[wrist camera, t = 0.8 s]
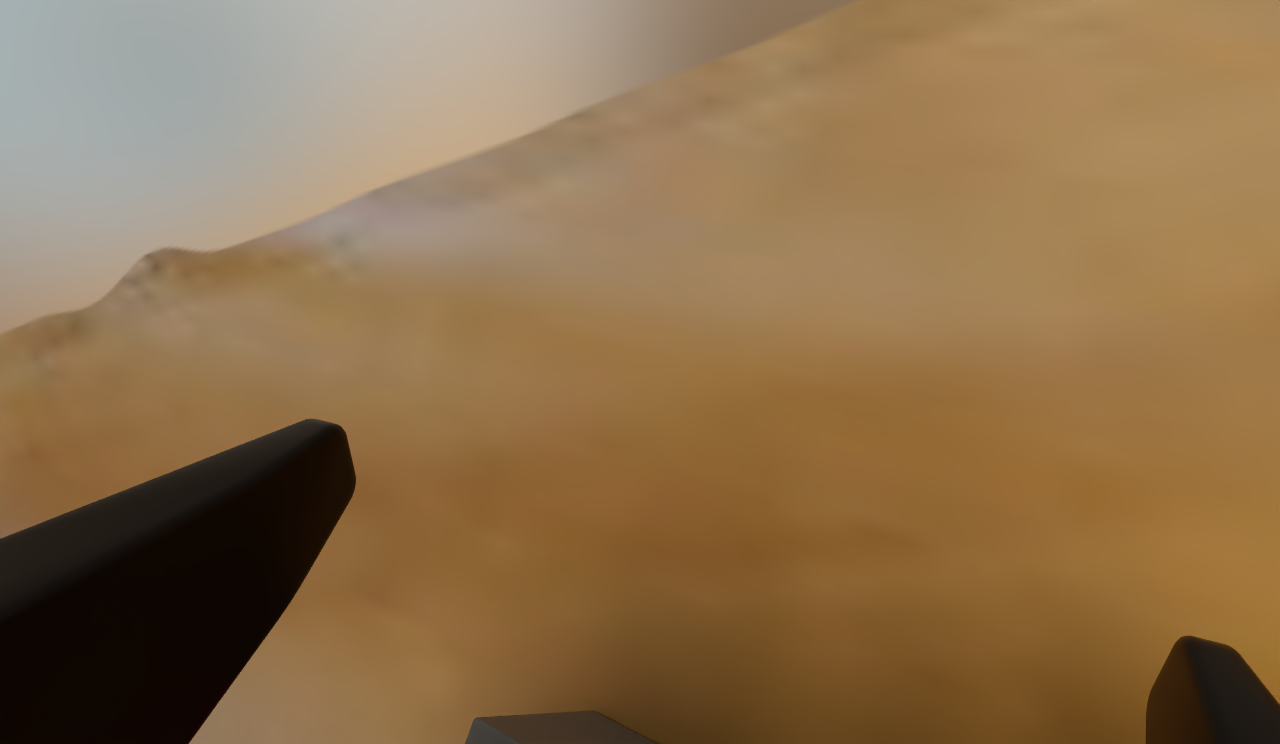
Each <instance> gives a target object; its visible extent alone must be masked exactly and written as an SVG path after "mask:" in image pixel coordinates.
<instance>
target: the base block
mask: <svg viewBox="0 0 1280 744" xmlns="http://www.w3.org/2000/svg"><path fill="white" fill-rule="evenodd" d="M465 744H656V743H654V742H653V741H651V740H649V739H647V738H645V737H643V736H641V735H639V734H637V733H635V732H633V731H631V730H630V729H628V728H626V727H624V726H622V725H620V724H618V723H616V722H614V721H612V720H610V719H608V718H607V717H605V716H603V715H601V714H599V713H597V712H595V711H580V712H563V713H546V714H530V715H513V716H496V717H479V718H475V719H474V721H473V723H472V726H471V729H470V732H469V735H468V737H467V740H466V743H465Z"/></svg>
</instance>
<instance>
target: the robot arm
mask: <svg viewBox="0 0 1280 744" xmlns="http://www.w3.org/2000/svg"><path fill="white" fill-rule="evenodd" d="M355 485H356V475H355V470H354V466H353V462H352V457H351V453H350V448H349V444H348V439H347V435H346V432H345V431H344V430H343V428H342V427H341V426H339V425H337V424H334V423H330V422H326V421H322V420H318V419H306V420H303V421H301V422H298V423H296V424H293V425H290V426H288V427H285V428H283V429H280V430H278V431H275V432H273V433H270V434H267V435H265V436H262V437H260V438H257V439H255V440H252V441H249V442H247V443H244V444H242V445H239V446H237V447H234V448H232V449H229V450H226V451H224V452H221V453H219V454H216V455H214V456H211V457H209V458H206V459H203V460H201V461H198V462H196V463H193V464H191V465H188V466H185V467H183V468H180V469H178V470H175V471H173V472H170V473H168V474H165V475H162V476H160V477H157V478H155V479H152V480H150V481H147V482H145V483H142V484H139V485H137V486H134V487H132V488H129V489H127V490H124V491H121V492H119V493H116V494H114V495H111V496H109V497H106V498H104V499H101V500H98V501H96V502H93V503H91V504H88V505H86V506H83V507H81V508H78V509H75V510H73V511H70V512H68V513H65V514H63V515H60V516H58V517H55V518H52V519H50V520H47V521H45V522H42V523H40V524H37V525H34V526H32V527H29V528H27V529H24V530H22V531H19V532H17V533H14V534H11V535H9V536H6V537H4V538H1V539H0V744H189V743H190V741H191V740H192V738H193V737H194V736H195V734H196V733H197V731H198V730H199V729H200V727H201V726H202V725H203V723H204V722H205V720H206V719H207V718H208V716H209V715H210V714H211V712H212V711H213V709H214V708H215V707H216V705H217V704H218V702H219V701H220V700H221V698H222V697H223V696H224V694H225V693H226V691H227V690H228V689H229V687H230V686H231V684H232V683H233V682H234V680H235V679H236V678H237V676H238V675H239V673H240V672H241V671H242V669H243V668H244V666H245V665H246V664H247V662H248V661H249V660H250V658H251V657H252V655H253V654H254V653H255V651H256V650H257V649H258V647H259V646H260V644H261V643H262V642H263V640H264V639H265V637H266V636H267V635H268V633H269V632H270V631H271V629H272V628H273V626H274V625H275V624H276V622H277V621H278V619H279V618H280V617H281V615H282V614H283V612H284V611H285V609H286V608H287V606H288V605H289V603H290V602H291V600H292V599H293V597H294V596H295V594H296V592H297V591H298V589H299V588H300V586H301V584H302V583H303V581H304V579H305V577H306V576H307V574H308V572H309V571H310V569H311V567H312V565H313V564H314V562H315V560H316V558H317V557H318V555H319V553H320V552H321V550H322V548H323V546H324V545H325V543H326V541H327V539H328V538H329V536H330V534H331V533H332V531H333V529H334V527H335V526H336V524H337V522H338V520H339V519H340V517H341V515H342V514H343V512H344V510H345V508H346V507H347V505H348V503H349V501H350V500H351V498H352V496H353V493H354V490H355ZM1146 744H1280V704H1279V703H1278V702H1277V700H1276V699H1275V698H1274V697H1273V695H1272V694H1271V693H1270V692H1269V690H1268V689H1267V688H1266V687H1265V685H1264V684H1263V683H1262V682H1261V680H1260V679H1259V678H1258V677H1257V675H1256V674H1255V673H1254V672H1253V670H1252V669H1251V668H1250V666H1249V665H1248V664H1247V663H1246V661H1245V660H1244V659H1243V658H1242V656H1241V655H1240V654H1239V653H1238V652H1237V651H1236V650H1234V649H1233V648H1232V647H1230V646H1228V645H1225V644H1221V643H1217V642H1213V641H1209V640H1205V639H1201V638H1197V637H1193V636H1183V637H1181V638H1180V639H1179V640H1178V641H1177V642H1176V643H1175V644H1174V646H1173V648H1172V650H1171V652H1170V654H1169V656H1168V658H1167V660H1166V662H1165V664H1164V666H1163V668H1162V669H1161V671H1160V673H1159V675H1158V677H1157V679H1156V681H1155V683H1154V685H1153V687H1152V689H1151V692H1150V695H1149V699H1148V703H1147V711H1146Z"/></svg>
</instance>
